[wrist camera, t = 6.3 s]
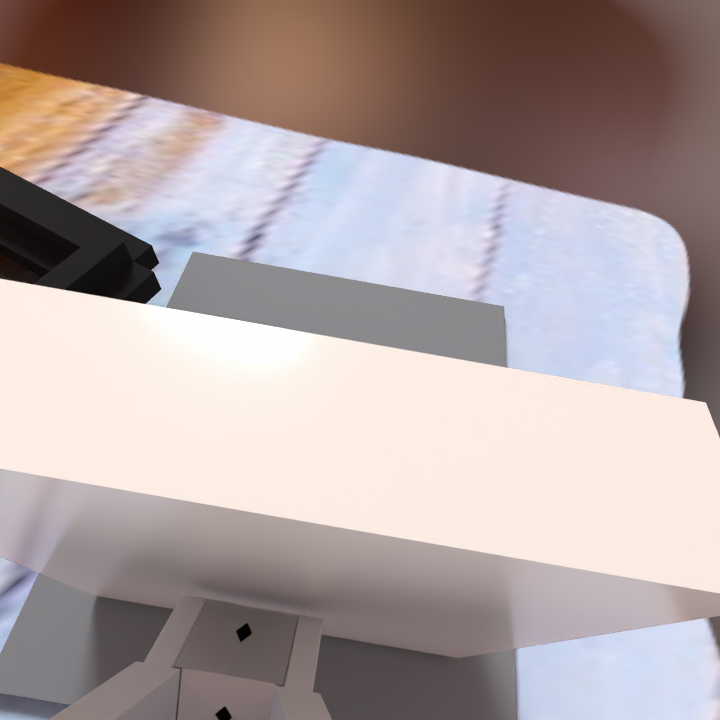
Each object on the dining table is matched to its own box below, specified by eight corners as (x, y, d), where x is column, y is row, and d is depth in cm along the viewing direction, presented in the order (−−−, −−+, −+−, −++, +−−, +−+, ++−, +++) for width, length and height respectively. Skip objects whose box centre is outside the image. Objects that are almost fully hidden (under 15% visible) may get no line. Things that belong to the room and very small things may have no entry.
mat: (513, 777, 13) (519, 781, 13) (-9, 688, 13) (-17, 689, 13) (501, 311, 23) (504, 306, 22) (194, 257, 23) (193, 251, 22)
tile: (458, 658, 14) (784, 604, 5) (91, 594, 14) (-352, 407, 5) (458, 572, 16) (703, 399, 6) (127, 515, 16) (-148, 250, 6)
